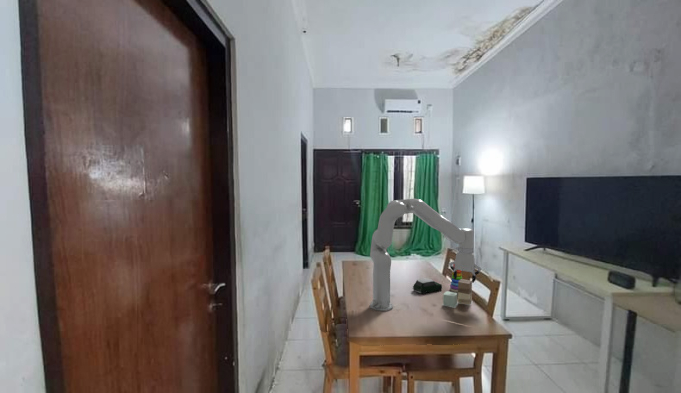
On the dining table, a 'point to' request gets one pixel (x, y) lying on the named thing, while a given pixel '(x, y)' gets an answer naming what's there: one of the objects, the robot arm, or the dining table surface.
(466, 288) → the walnut block
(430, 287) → the miniature car
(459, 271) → the stacking toy
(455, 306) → the blueprint mat
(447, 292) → the sage block
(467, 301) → the beech block
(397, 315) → the dining table surface
